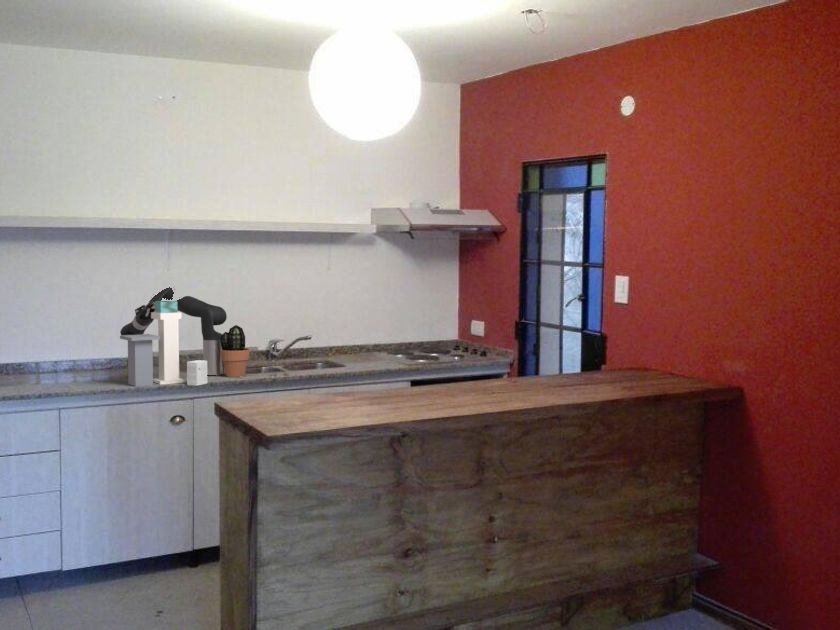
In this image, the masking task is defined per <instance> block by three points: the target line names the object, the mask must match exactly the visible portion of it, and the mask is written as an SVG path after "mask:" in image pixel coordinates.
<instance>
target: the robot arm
mask: <svg viewBox="0 0 840 630" xmlns="http://www.w3.org/2000/svg"><path fill="white" fill-rule="evenodd" d="M173 294H174V292H173V290H172V288H170V287H169V288H166V289H164V290H162V291H161V292H159V293H158V294H157V295H155V296H154V297H153V298H152V297H151V298H152V299H151V298H150V299H151V300H149V301H148V303H149V304H148V303H147V304H146V305H145V304H142V305H141V306H139V307H137V308H136V309H134V312H135V316H134V318H133V319H132V321H131V322H129V323H127V324H125V325H123V326H122V328H121V329H120V333H119V334H120V336H122V335H140V334H145V331H146V330H147V329H148V327H149V326H150V325H151V324H152V323H153V322H154V320H155V319H152V318H151V312H155V309H152V306H153V305H154V304H153V303H155V301H161V300H162V298H164V299H165V298H166V300H167V299H168V300H170V299H171V300H172V299H173V298H172V297H173ZM180 298H181V299H179V300H177V310H178V312H180V313H182V314H185V315H187V316H190V317H194V318H199V319H200V325H201V326H200V327H201V336H202V351H203V352H202V360H204V361H207V375H216V376H222V375H225V368H224V364H223V360H221V349H222V347H221V343H220V340H221V335H222V334H223V333H221V332H218V331H216V330H215V327H214V326H221V325H223V324H224V323H226V321H227V319H228V317H227V312H226V311H225V309H224V308H223V307H221V306H219V305H218V306H217V305H213V304H210V303H206V302H205V301H203V300H200V299H198V298H195V297H194V296H190V295H187V296H182V297H180ZM221 374H222V375H221Z"/></svg>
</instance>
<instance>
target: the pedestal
mask: <svg viewBox="0 0 840 630" xmlns="http://www.w3.org/2000/svg"><path fill="white" fill-rule="evenodd" d="M119 339H120V340H125V341H127V361H128V362H127V366H128V367H127V369H128V371H127V372H128V373H127V374H128V375H127V376H128V379H127V380H128V381H127V382H128V383H127V384H128V386H132V387H147V386H153V385H154V383H153V379H154V370H153V369H154V366H153V365H154V362H153V359H154V357H153V356H154V355H153V341H154V340H155V341H157V340H158V339H160V336H158V335H155V334H152V333H151V334H149V333H144V334H140V335H122V336H121V335H119Z"/></svg>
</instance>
